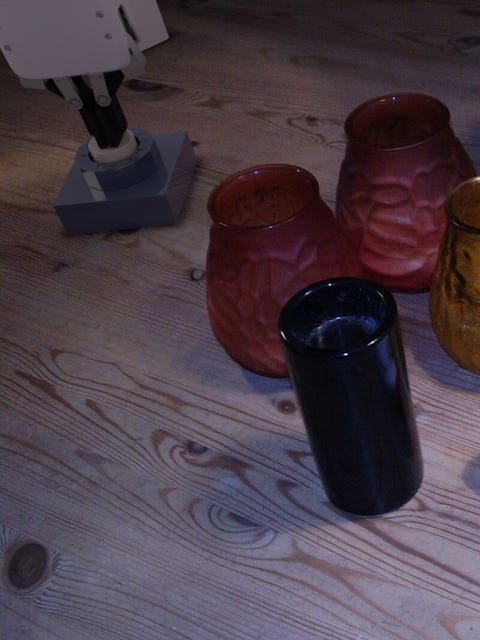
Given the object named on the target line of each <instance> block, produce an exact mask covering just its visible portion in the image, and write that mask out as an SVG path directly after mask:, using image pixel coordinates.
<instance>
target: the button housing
mask: <svg viewBox="0 0 480 640" xmlns="http://www.w3.org/2000/svg"><path fill="white" fill-rule="evenodd" d="M127 129H129V130H130V131H132V132H133V134H134V137H135V139H136V142H137V144H138V147H139V148H138V150H137V151H136V152H134V153H133V154H132V155H130V156H129V157H128V158H126V159H123V160H120V161H118V162H115V163H105V164H100V163H96V162H95V161H94V159H93V157H92V155H91V153H90V150H89V148H88V144H89V142H90V140H91V139H92V138H93V137H94V136H91V137H90V138H89V139H87V140H86V141H82V143H81V145H79V147H78V149H77V150H76V153H75V155H74V157H73V163H72V165H71V167H70V169H69V171H68V173H67V175H66V177H65V178H64V181H63V184H62V186H61V188H60V190H59V192H58V194H57V196H56V199H55V201H54V202H53V205H52V207H53V209H54V211H55V212H56V215H57V217H58V219H59V221H60V223H61V224H62V227H63V228H64V230H65V232H66V234H67V236H73V235H84V234H85V235H86V234H95V233H105V232H115V231H125V230H136V229H144V228H145V229H147V228H156V227H166V226H176V225H178V223H179V219H180V217H181V214H182V211H183V207H184V205H185V201H186V198H187V194H188V192H189V188H190V186H191V182H192V179H193V176H194V172H195V169H196V166H197V163H198V157H197V155H196V152H195V149H194V146H193V145H192V141H191V139H190V136H189V134H188V131H187V130H186V131H175V132H166V133H157V134H151V132H150V130H149V129H145V128H141V127H137V126H128V127H127Z"/></svg>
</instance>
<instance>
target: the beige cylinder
mask: <svg viewBox="0 0 480 640" xmlns="http://www.w3.org/2000/svg"><path fill="white" fill-rule="evenodd" d="M92 137H93V136H92ZM92 137H91V138H92ZM88 148H89V150H90V153H91V155H92V157H93V159H94V161H95V162H96V163H100V164H105V163H115V162H118V161H120V160H123V159H126V158H128V157H129V156H130V155H132V154H133V153H134V152H136V151H137V150H138V148H139V147H138V144H137V142H136V139H135V137H134V134H133V132H132V131H130V130H129V129H127V130H126V132H125V133H124V135H123V138H122V140H121V142H120V145H119V147H113V148H112V147H111V146H108V147H107V148H104V149H100V148H99V146H98V144H97V142H96V140H95V138H94V137H93V138H92V139H91V140H90V142H89V144H88Z"/></svg>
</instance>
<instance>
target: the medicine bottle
mask: <svg viewBox="0 0 480 640" xmlns="http://www.w3.org/2000/svg"><path fill="white" fill-rule="evenodd" d="M127 1H128V3H129V6H130V8H131V10H132V12H133V14H134V17H135V19H136V22H137V24H138V27H139V30H140V33H141V40H140V42H139V43H138V44H137V46H138V48H139V49H140V50H141V52H143V51H146V50H147V49H149V48H152V47H154V46H156V45H158V44H160V43H162V42H164V41H167V40H169V37H170V36H169V34H168V31H167V29H166V25H165V22H164V20H163V17H162V13H161V10H160V8H159V6H158V2H157V0H127ZM125 18H126V17H125Z"/></svg>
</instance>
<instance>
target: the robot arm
mask: <svg viewBox="0 0 480 640" xmlns="http://www.w3.org/2000/svg"><path fill="white" fill-rule="evenodd" d="M125 17H126V18H125ZM140 40H141V33H140V30H139V27H138V24H137V22H136V19H135V17H134V14H133V12H132V10H131V8H130V6H129V3H128V1H127V0H0V50H1V52H2V54H3V57H4V58H5V60H6V61H7V64H8V65H9V67H10V69H11V70H12V71H13V73H14V74H15V75H16V76H17V77H18V79H19V80H18V81H19V83H20V85H21V86H22V87H23V88H26V89H33V90H42V91H46V90H48V91H50V92H51V93H53V94H54V95H56V96H58V97H60V98H61V99H63V100H65V101H66V102H67V103H68V106H69V107H70V108H71V109H74V110H77V111H78V112H79V115H80V117H81V119H82V121H83V123H84V125H85V128H86V130H87V133H88V134H89V136H91V137H93V136H94V138H95V140H96V142H97V144H98V146H99V148H100V149H104V148H107V147H108V146H111V147H112V148H113V147H119V145H120V142H121V140H122V138H123V135H124V133H125V132H126V130H127V127H129V126H128V120H127V118H126V115H125V112H124V110H123V108H122V105H121V103H120V101H119V98H118V96H117V92H118V91H119V89H120V87H121V86H122V84H123V83H124V82H126V81H131V80H134V79H137V78H139V77H142V76H144V75H145V73H146V71H147V70H148V67H149V61H148V59H147V58H146V57H145V55H144V53H143V51H141V50H140V49H139V48H138V46H137V44H138V43H139V42H140ZM88 75H89V76H88ZM86 76H88V78H89V80H88V79H87V77H86ZM89 81H90V82H89Z"/></svg>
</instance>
